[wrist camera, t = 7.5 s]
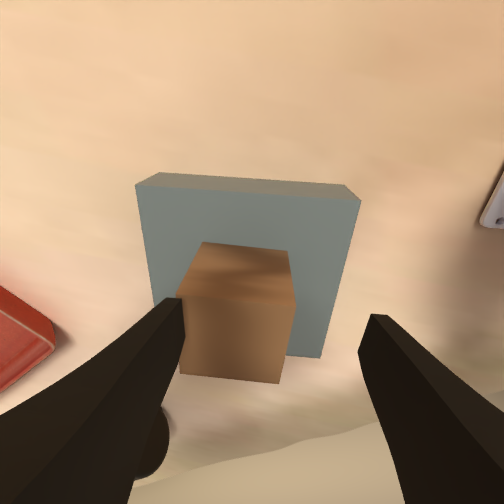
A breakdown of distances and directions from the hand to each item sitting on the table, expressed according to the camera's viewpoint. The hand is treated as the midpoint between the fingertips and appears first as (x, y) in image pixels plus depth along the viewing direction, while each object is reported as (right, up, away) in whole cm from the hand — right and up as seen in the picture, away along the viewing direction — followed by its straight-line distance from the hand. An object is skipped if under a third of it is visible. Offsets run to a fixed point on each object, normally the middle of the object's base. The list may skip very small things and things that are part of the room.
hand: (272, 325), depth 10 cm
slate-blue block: (-1, +3, +10) cm, 10 cm away
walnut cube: (-2, +1, +6) cm, 6 cm away
